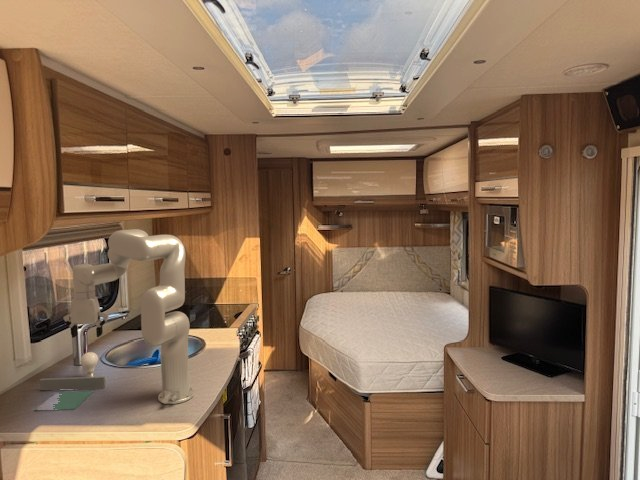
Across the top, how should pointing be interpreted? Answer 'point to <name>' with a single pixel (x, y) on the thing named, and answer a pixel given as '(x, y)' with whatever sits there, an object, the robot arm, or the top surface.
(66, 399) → the mat
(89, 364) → the lightbulb
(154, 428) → the top surface
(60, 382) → the low wall
